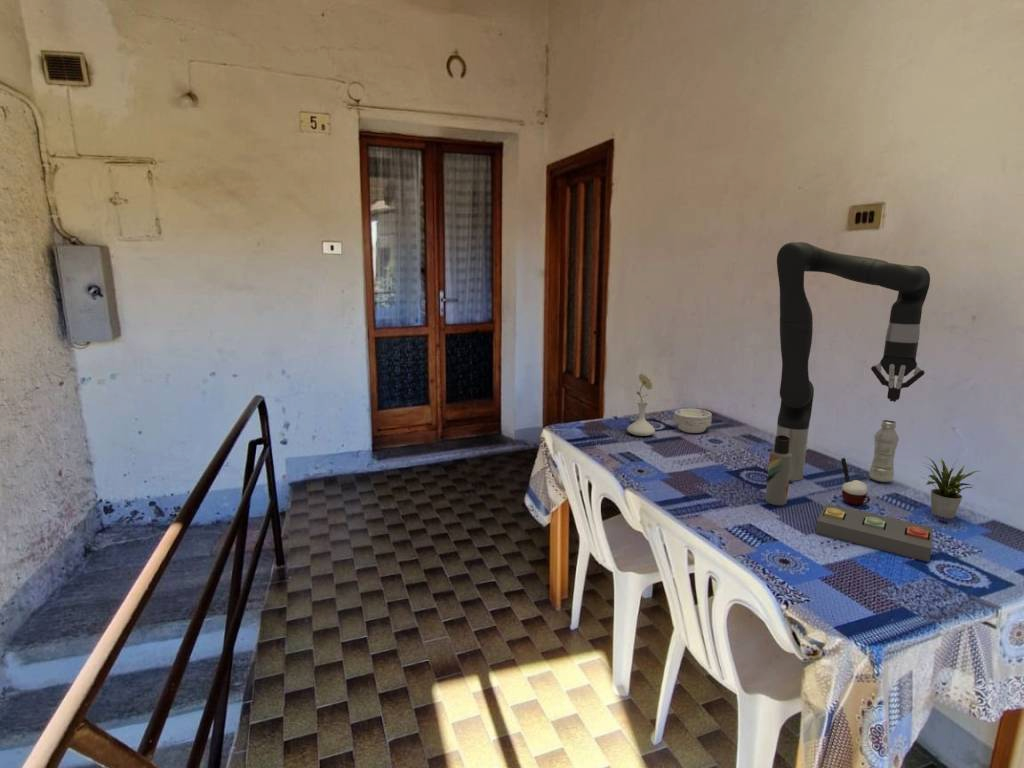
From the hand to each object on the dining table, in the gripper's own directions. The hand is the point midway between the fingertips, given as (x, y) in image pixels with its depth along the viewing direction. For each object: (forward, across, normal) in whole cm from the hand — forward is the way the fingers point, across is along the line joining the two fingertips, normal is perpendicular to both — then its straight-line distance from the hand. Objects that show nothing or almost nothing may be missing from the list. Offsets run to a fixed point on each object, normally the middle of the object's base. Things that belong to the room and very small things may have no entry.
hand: (892, 400), depth 159 cm
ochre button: (+30, +8, +25) cm, 40 cm away
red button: (+30, -10, +25) cm, 40 cm away
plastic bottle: (+31, +1, -22) cm, 38 cm away
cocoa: (+31, +6, +3) cm, 32 cm away
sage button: (+30, -1, +25) cm, 39 cm away
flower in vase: (+31, +85, -23) cm, 93 cm away
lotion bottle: (+31, +24, +17) cm, 43 cm away
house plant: (+31, -14, -3) cm, 34 cm away
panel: (+31, -1, +25) cm, 40 cm away
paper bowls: (+31, +70, -41) cm, 87 cm away
